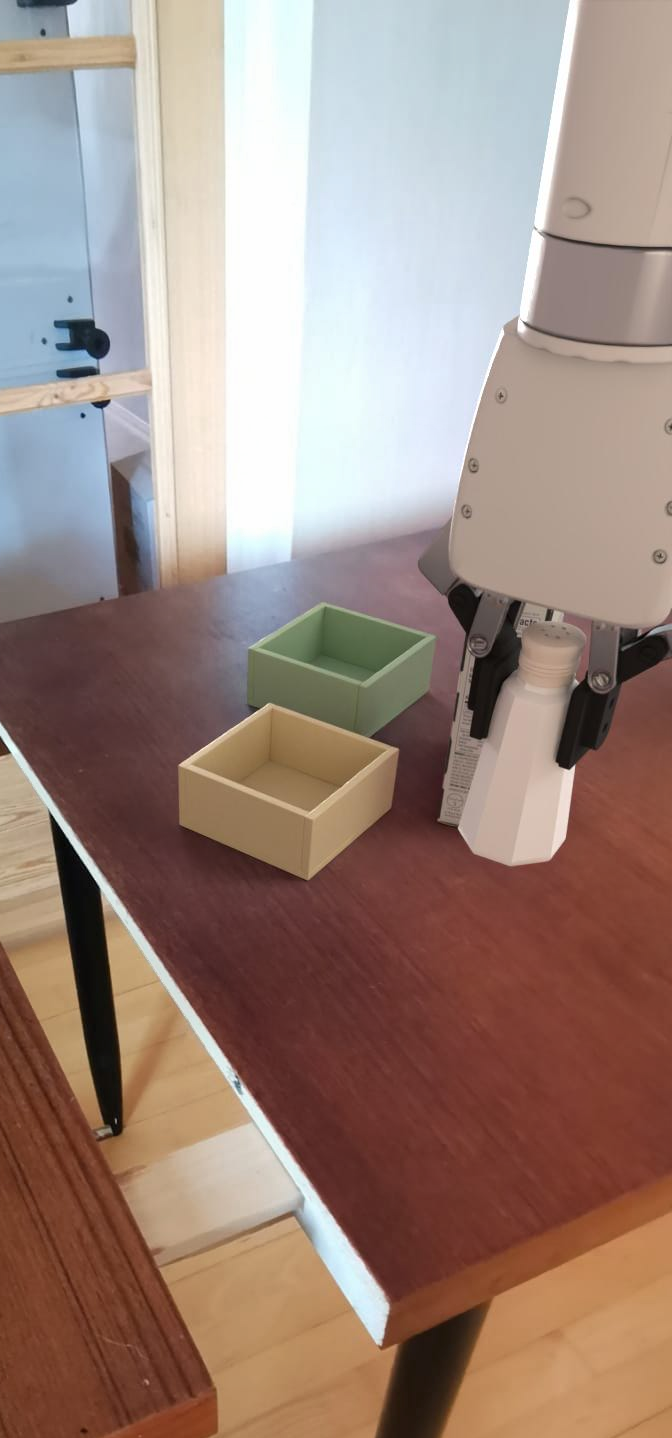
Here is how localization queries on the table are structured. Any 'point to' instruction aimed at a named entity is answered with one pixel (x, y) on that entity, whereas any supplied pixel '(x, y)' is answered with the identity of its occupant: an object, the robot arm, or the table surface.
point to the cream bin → (287, 789)
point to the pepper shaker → (526, 754)
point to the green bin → (341, 668)
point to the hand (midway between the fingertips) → (532, 737)
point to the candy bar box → (461, 745)
